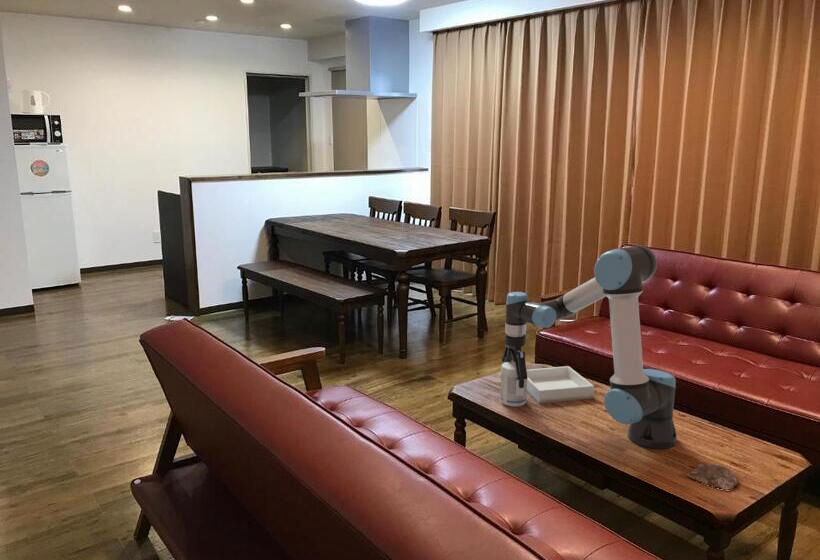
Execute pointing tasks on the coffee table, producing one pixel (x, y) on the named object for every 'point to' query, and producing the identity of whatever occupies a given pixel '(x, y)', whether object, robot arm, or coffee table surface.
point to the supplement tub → (511, 386)
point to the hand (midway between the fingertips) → (513, 388)
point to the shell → (714, 476)
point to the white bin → (557, 385)
